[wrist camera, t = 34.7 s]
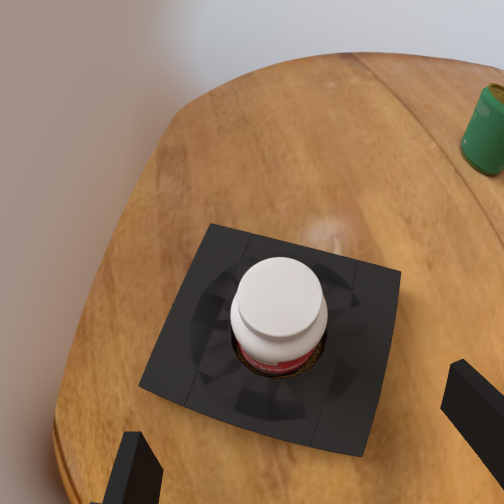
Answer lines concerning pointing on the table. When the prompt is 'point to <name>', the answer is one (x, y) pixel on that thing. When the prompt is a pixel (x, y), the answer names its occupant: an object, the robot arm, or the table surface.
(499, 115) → the beverage can
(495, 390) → the robot arm
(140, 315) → the table surface
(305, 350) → the pill bottle
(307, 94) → the table surface
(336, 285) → the black pad
